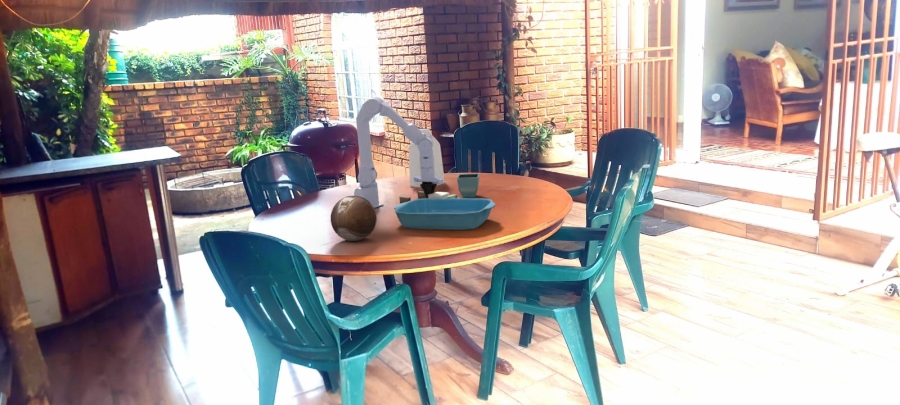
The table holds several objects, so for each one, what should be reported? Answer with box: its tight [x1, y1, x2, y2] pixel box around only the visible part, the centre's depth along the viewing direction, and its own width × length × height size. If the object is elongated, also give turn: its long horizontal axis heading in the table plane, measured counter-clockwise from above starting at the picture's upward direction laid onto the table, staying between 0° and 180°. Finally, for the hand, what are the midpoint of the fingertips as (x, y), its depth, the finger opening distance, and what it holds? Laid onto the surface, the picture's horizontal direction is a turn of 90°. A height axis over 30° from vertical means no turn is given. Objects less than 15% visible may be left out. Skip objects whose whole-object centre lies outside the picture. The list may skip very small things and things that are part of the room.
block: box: [428, 191, 450, 198], centre depth 254 cm, size 6×6×4 cm
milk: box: [408, 128, 446, 188], centre depth 295 cm, size 12×12×26 cm
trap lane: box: [398, 190, 461, 204], centre depth 258 cm, size 24×21×4 cm
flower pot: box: [456, 173, 480, 198], centre depth 264 cm, size 9×9×9 cm
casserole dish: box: [393, 197, 497, 231], centre depth 224 cm, size 37×22×7 cm, turn 70°
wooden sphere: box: [330, 195, 377, 242], centre depth 209 cm, size 15×15×15 cm
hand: (429, 200), depth 257 cm, fingers closed
